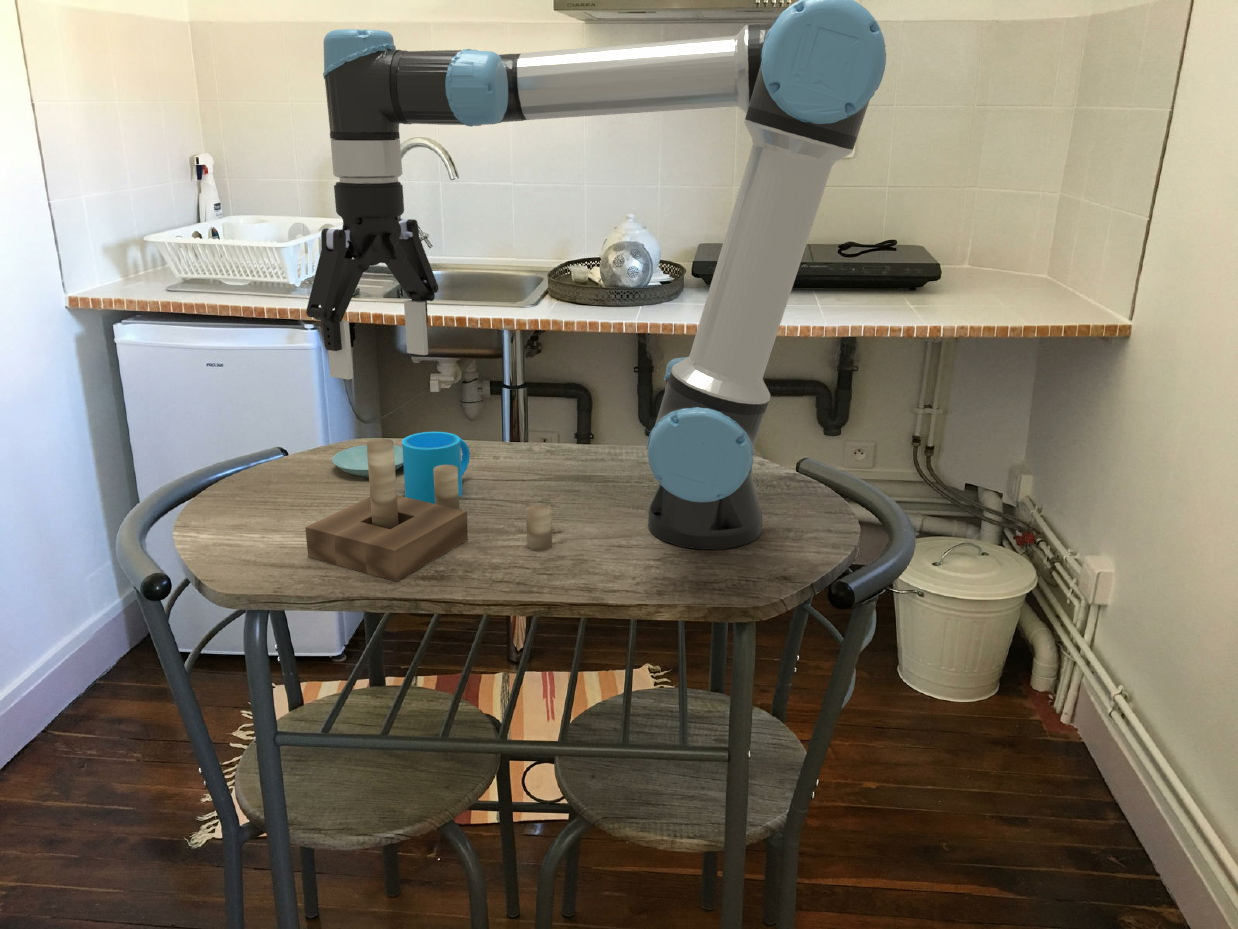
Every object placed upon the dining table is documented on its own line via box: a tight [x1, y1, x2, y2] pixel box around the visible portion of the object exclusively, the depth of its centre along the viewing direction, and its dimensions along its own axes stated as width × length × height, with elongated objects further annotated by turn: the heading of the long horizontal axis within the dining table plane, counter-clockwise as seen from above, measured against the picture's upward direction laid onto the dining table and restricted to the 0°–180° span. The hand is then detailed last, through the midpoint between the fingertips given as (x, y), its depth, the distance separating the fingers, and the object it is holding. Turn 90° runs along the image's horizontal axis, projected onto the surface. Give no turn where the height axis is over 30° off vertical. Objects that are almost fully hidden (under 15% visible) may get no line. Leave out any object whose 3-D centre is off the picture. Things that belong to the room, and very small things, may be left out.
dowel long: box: [365, 438, 399, 529], centre depth 125 cm, size 3×3×14 cm
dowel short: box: [525, 504, 553, 552], centre depth 128 cm, size 3×3×5 cm
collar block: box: [304, 494, 469, 582], centre depth 127 cm, size 14×14×4 cm
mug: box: [401, 431, 471, 504], centre depth 146 cm, size 12×8×8 cm
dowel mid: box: [433, 465, 460, 510], centre depth 136 cm, size 3×3×7 cm
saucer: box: [331, 444, 404, 478], centre depth 155 cm, size 12×12×2 cm
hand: (381, 365), depth 120 cm, fingers open, 13 cm apart
